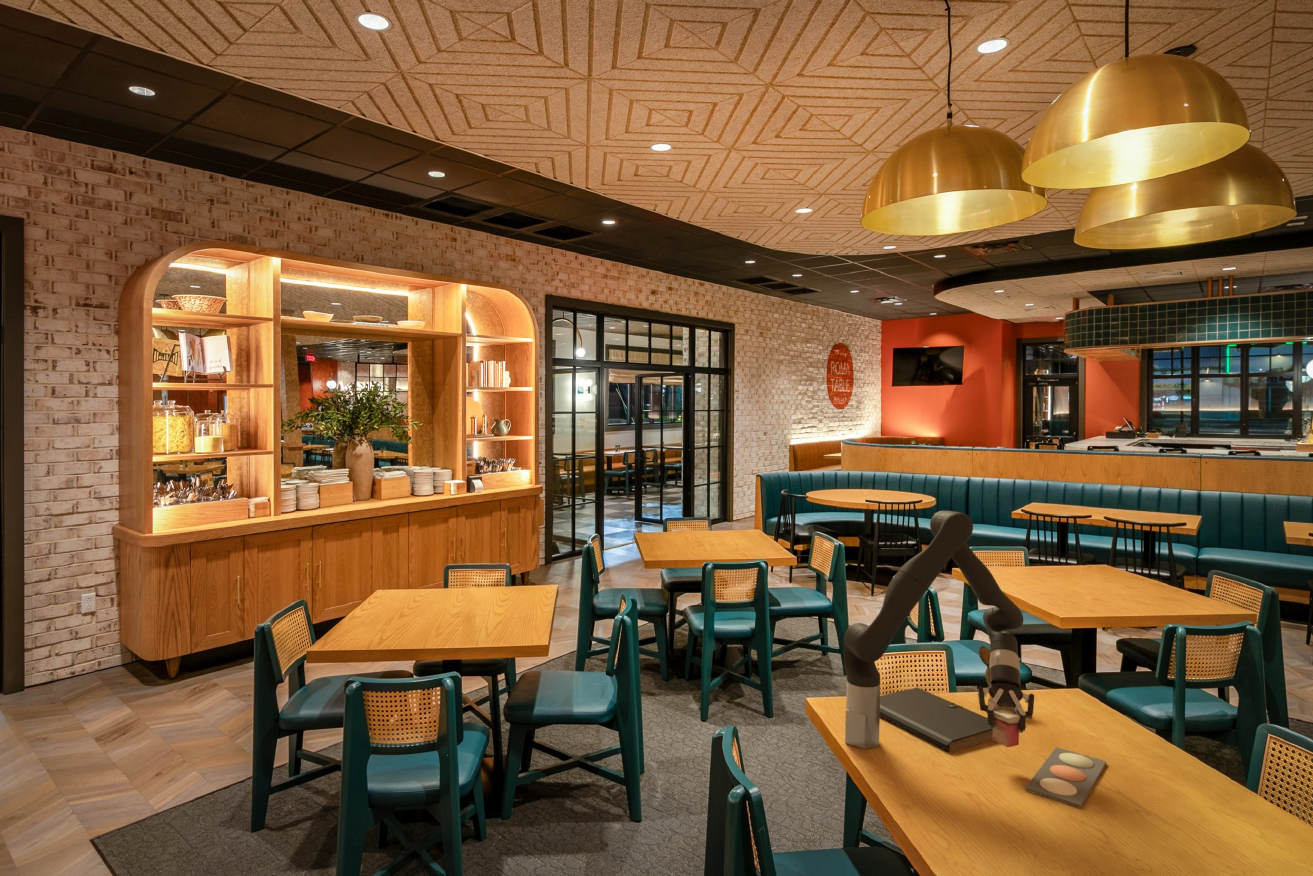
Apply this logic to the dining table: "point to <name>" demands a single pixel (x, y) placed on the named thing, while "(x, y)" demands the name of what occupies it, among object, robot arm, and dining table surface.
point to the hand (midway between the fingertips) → (1006, 728)
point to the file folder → (935, 719)
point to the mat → (1067, 777)
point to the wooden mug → (985, 658)
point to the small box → (1006, 728)
